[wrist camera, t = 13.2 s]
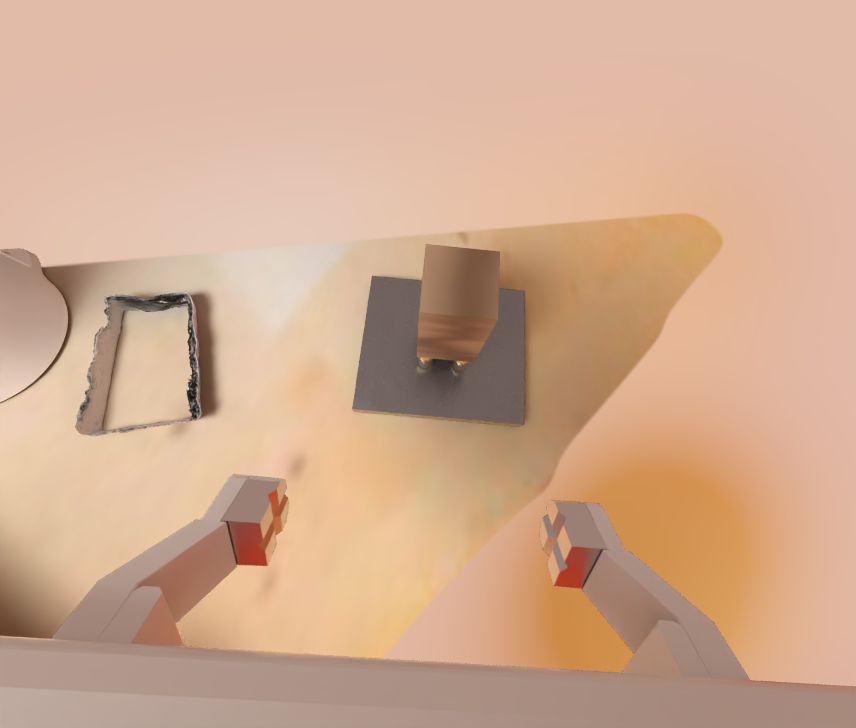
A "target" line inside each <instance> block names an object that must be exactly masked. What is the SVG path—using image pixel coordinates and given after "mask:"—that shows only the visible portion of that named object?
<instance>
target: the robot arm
mask: <svg viewBox="0 0 856 728" xmlns="http://www.w3.org/2000/svg"><path fill="white" fill-rule="evenodd" d="M67 326H68V311H67V306H66V303H65V300H64V298H63V296H62V295H61V293H60V292H59V290H58V289H57V288H56V287H55V286H54V285H53V284H52V283H51V282H50V281H49V280H47V278H46V277H45V276H44V275H43V272H42V268H41V265H40V262H39V259H38V258H37V256H35V255H34V254H32V253H30V252H28V251H26V250H24V249H4V250H0V402H2V401H4V400H6V399H8V398H10V397H12V396H14V395H15V394H17V393H19V392H20V391H22V390H23V389H25V388H26V387H28V386H29V385H30V384H31V383H33V382H34V381H35V380H36V379H37V378H38V377H39V376H40V375H41V374H42V373H43V372H44V371H45V370H46V369H47V368H48V367H49V365H50V364H51V363H52V361H53V360H54V359H55V357H56V355H57V354H58V352H59V350H60V348H61V346H62V344H63V341H64V339H65V335H66V332H67ZM286 489H287V484H286V480H285V479H279V478H270V477H261V476H249V475H239V474H233V475H232V476H231V477H229V478H228V480H227V481H226V483H225V484H224V486H223V487H222V489H221V490H220V492H219V493H218V495H217V496H216V498H215V499H214V501H213V502H212V504H211V505H210V507H209V508H208V510H207V511H206V513H205V514H204V516H203V517H202V519H201V520H194V521H192V522H191V523H189V524H188V525H186V526H185V527H183V528H181V529H180V530H178V531H177V532H175V533H173V534H172V535H170V536H169V537H167V538H165V539H164V540H162V541H161V542H159V543H158V544H156V545H154V546H153V547H151V548H150V549H148V550H146V551H145V552H143V553H142V554H140V555H139V556H137V557H135V558H134V559H132V560H131V561H129V562H127V563H126V564H124V565H123V566H121V567H120V568H118V569H116V570H115V571H113V572H112V573H110V574H108V575H107V576H105V577H104V578H102V579H101V580H99V581H98V582H97V583H96V584H95V585H94V587H93V588H92V589H91V590H90V592H89V593H88V594H87V595H86V596H85V598H84V599H83V600H82V601H81V602H80V604H79V605H78V606H77V607H76V609H75V610H74V611H73V612H72V613H71V615H70V616H69V617H68V618H67V620H66V621H65V622H64V623H63V624H62V626H61V627H60V628H59V629H58V630H57V632H56V633H55V634H54V635H53V637H52V638H51V639H45V638H28V637H12V636H0V728H856V687H854V686H835V685H819V684H802V683H787V682H770V681H752V680H750V679H749V677H748V676H747V674H746V672H745V671H744V669H743V668H742V666H741V664H740V663H739V661H738V660H737V658H736V657H735V655H734V653H733V652H732V650H731V649H730V647H729V646H728V644H727V642H726V641H725V639H724V637H723V636H722V635H721V633H720V631H719V630H718V628H717V626H716V625H715V623H714V622H713V621H712V620H710V619H709V618H708V617H707V616H706V615H704V614H703V613H702V612H701V611H700V610H699V609H697V608H696V607H695V606H694V605H693V604H691V603H690V602H689V601H688V600H687V599H686V598H684V597H683V596H682V595H681V594H680V593H679V592H677V591H676V590H675V589H674V588H673V587H671V586H670V585H669V584H668V583H667V582H666V581H664V580H663V579H662V578H661V577H660V576H659V575H657V574H656V573H655V572H654V571H653V570H652V569H650V568H649V567H648V566H647V565H646V564H644V563H643V562H642V561H641V560H640V559H638V558H637V557H636V556H635V555H634V554H633V553H631V552H627V551H625V549H624V547H623V545H622V543H621V541H620V539H619V537H618V535H617V534H616V532H615V530H614V528H613V526H612V524H611V522H610V520H609V518H608V516H607V514H606V513H605V511H604V509H603V507H602V506H601V505H600V504H599V503H587V502H574V501H560V500H551V501H549V502H548V505H547V507H546V509H547V512H548V514H547V515H546V516H544V517H543V518H542V521H541V524H540V541H541V545H542V549H543V550H544V551H545V552H546V554H547V555H548V556H549V557H550V558H549V560H548V563H547V565H548V569H549V572H550V575H551V578H552V582H553V585H554V586H561V587H570V588H581V589H582V591H583V592H584V594H585V595H586V596H587V597H588V598H589V600H590V601H591V602H592V603H593V604H594V606H595V607H596V608H597V609H598V611H599V612H600V613H601V614H602V615H603V617H604V618H605V619H606V620H607V622H608V623H609V624H610V625H611V627H612V628H613V629H614V630H615V631H616V633H617V634H618V635H619V636H620V638H621V639H622V640H623V641H624V643H625V644H626V645H627V646H628V647H629V649H630V650H631V651H632V652H633V656H632V657H631V658H630V660H629V661H628V662H627V664H626V665H625V667H624V669H623V670H622V672H623V673H617V672H599V671H583V670H566V669H549V668H532V667H515V666H500V665H499V666H498V665H482V664H467V663H449V662H433V661H415V660H400V659H383V658H366V657H349V656H332V655H315V654H298V653H281V652H264V651H247V650H230V649H214V648H197V647H184V643H183V639H182V637H181V635H180V632H179V630H178V628H177V625H176V623H177V622H178V621H179V620H180V619H181V618H182V617H183V616H184V615H185V614H186V613H187V612H189V611H190V610H191V609H192V608H193V607H194V606H195V605H196V604H197V603H198V602H199V601H200V600H201V599H203V598H204V597H205V596H206V595H207V594H208V593H209V592H210V591H211V590H212V589H213V588H214V587H215V586H217V585H218V584H219V583H220V582H221V581H222V580H223V579H224V578H225V577H226V576H227V575H228V574H229V573H231V572H232V571H233V570H234V569H235V568H236V567H237V565H256V566H268V564H269V561H270V559H271V557H272V554H273V552H274V550H275V547H276V545H277V543H276V535H277V534H279V533H280V532H281V531H282V530H283V528H284V525H285V523H286V519H287V515H288V510H289V500H288V497H287V496H286V495H285V494H284V493H285V491H286Z"/></svg>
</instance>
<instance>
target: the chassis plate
mask: <svg viewBox="0 0 856 728" xmlns="http://www.w3.org/2000/svg"><path fill="white" fill-rule="evenodd" d="M421 288H422V281H419V280H408V279H398V278H388V277H378V276H372V280H371V287H370V294H369V300H368V307H367V314H366V321H365V327H364V334H363V341H362V347H361V354H360V361H359V368H358V374H357V381H356V388H355V395H354V401H353V408H352V409H353V410H354V412H362V413H373V414H384V415H395V416H406V417H417V418H428V419H439V420H450V421H461V422H472V423H483V424H494V425H505V426H516V427H520V426H523V425H524V308H525V291H519V290H509V289H499V301H498V320H497V322H496V324H495V326H494V328H493V329H492V331H491V333H490V335H489V336H488V338H487V340H486V342H485V343H484V345H483V347H482V349H481V350H480V352H479V354H478V356H477V357H476V359H475V361H474V362H465V361H454V360H444V359H433V358H423V357H417V341H418V324H419V308H420V298H421Z"/></svg>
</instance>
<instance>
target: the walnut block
mask: <svg viewBox="0 0 856 728" xmlns="http://www.w3.org/2000/svg"><path fill="white" fill-rule="evenodd" d="M499 263H500V252H498V251H488V250H478V249H468V248H458V247H448V246H438V245H429V244H426V248H425V258H424V268H423V278H422V288H421V298H420V308H419V324H418V341H417V357H423V358H433V359H444V360H454V361H465V362H474V361H475V359H476V357H477V356H478V354H479V352H480V350H481V349H482V347H483V345H484V343H485V342H486V340H487V338H488V336H489V335H490V333H491V331H492V329H493V328H494V326H495V324H496V322H497V320H498V301H499Z"/></svg>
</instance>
